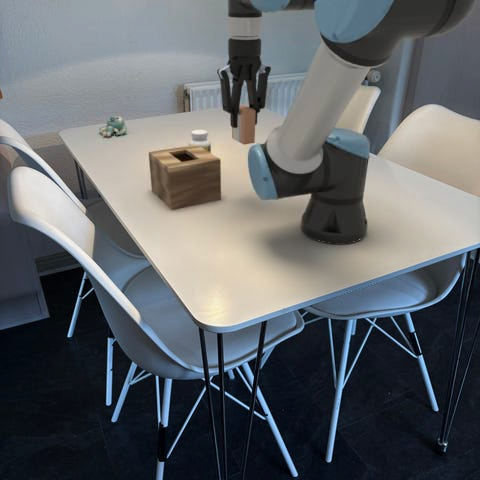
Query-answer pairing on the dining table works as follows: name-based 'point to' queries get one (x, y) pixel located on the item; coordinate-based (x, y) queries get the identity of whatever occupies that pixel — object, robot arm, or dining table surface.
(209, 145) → the pill bottle
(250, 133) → the salmon orange block
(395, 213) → the dining table surface
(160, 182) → the coin box
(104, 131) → the stuffed animal
